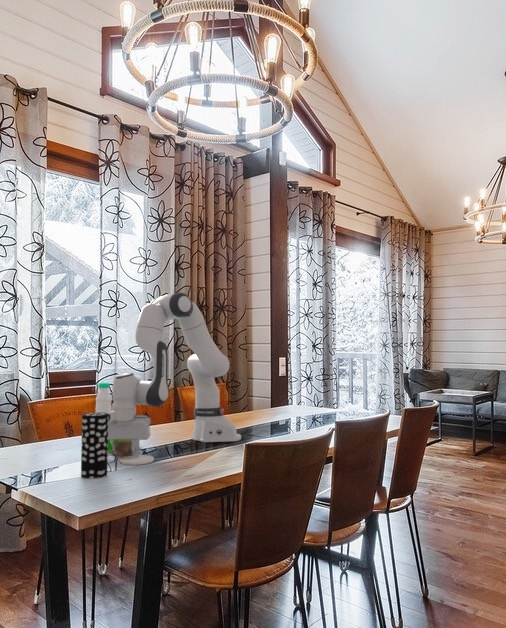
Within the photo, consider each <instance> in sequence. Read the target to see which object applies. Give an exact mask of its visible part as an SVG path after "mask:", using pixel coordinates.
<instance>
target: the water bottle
mask: <svg viewBox="0 0 506 628" xmlns="http://www.w3.org/2000/svg"><path fill="white" fill-rule="evenodd" d="M109 389H110V383H109V382H99V383H98V393H97V395H96V397H95V413H108V412H109V411H112V401H113V397H112V396H111V393H110V392H109Z"/></svg>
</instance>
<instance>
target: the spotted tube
mask: <svg viewBox="0 0 506 628" xmlns="http://www.w3.org/2000/svg"><path fill="white" fill-rule="evenodd" d="M108 453H109V451H108V413H96V412H85V413H82V414H81V454H80V457H81V458H80V459H81V462H80V467H81V468H80V477H81V478H83V479H90V480H92V479H93V480H94V479H100V478H104V477H106V476H108V466H109V465H108V457H109V456H108V455H109V454H108Z"/></svg>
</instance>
